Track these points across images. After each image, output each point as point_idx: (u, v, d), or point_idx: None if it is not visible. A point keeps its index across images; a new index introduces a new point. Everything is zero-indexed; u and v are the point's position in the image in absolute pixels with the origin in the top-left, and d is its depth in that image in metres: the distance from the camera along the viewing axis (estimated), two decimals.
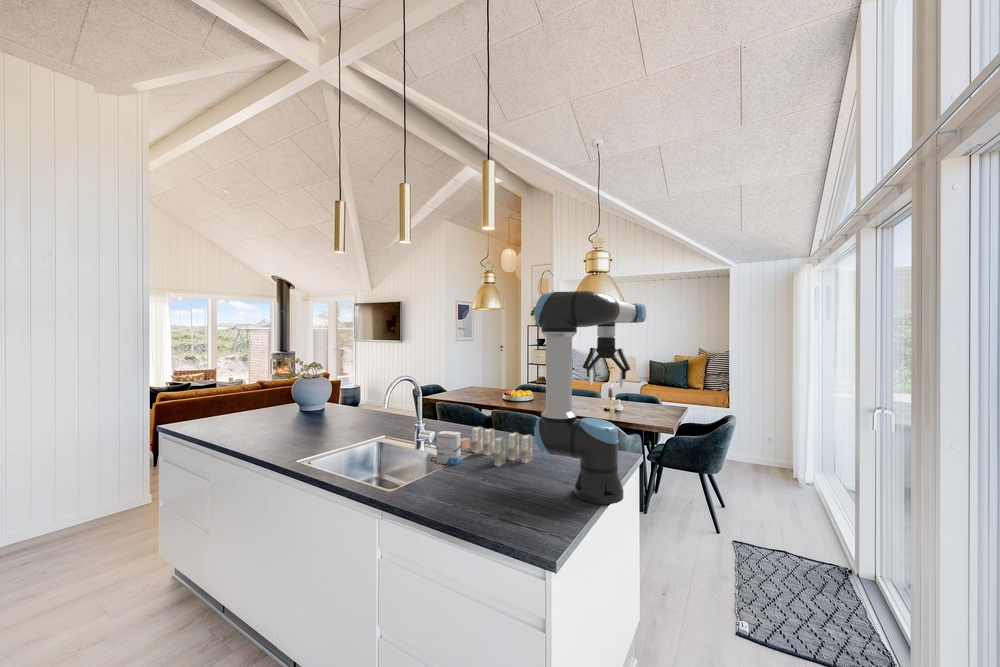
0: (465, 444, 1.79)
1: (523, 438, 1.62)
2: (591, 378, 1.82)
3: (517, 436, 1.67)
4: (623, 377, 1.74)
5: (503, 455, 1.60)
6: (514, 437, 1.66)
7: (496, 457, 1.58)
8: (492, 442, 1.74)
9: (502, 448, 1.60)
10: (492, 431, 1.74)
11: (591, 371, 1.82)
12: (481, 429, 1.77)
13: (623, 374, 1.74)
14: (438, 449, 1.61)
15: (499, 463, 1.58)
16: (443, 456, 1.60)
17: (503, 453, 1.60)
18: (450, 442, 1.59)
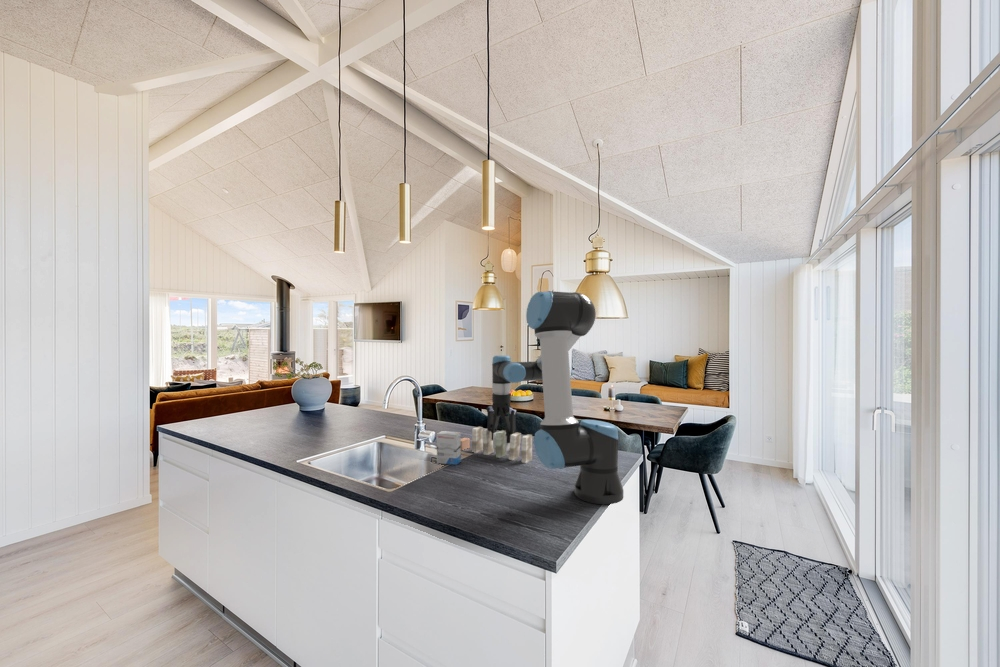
0: (465, 444, 1.79)
1: (523, 438, 1.62)
2: None
3: (519, 437, 1.67)
4: (508, 441, 1.68)
5: None
6: (516, 437, 1.65)
7: (497, 449, 1.68)
8: (491, 441, 1.74)
9: (503, 441, 1.70)
10: None
11: None
12: (481, 429, 1.77)
13: (508, 437, 1.68)
14: (438, 449, 1.61)
15: (500, 455, 1.68)
16: (443, 456, 1.60)
17: None
18: (450, 442, 1.59)
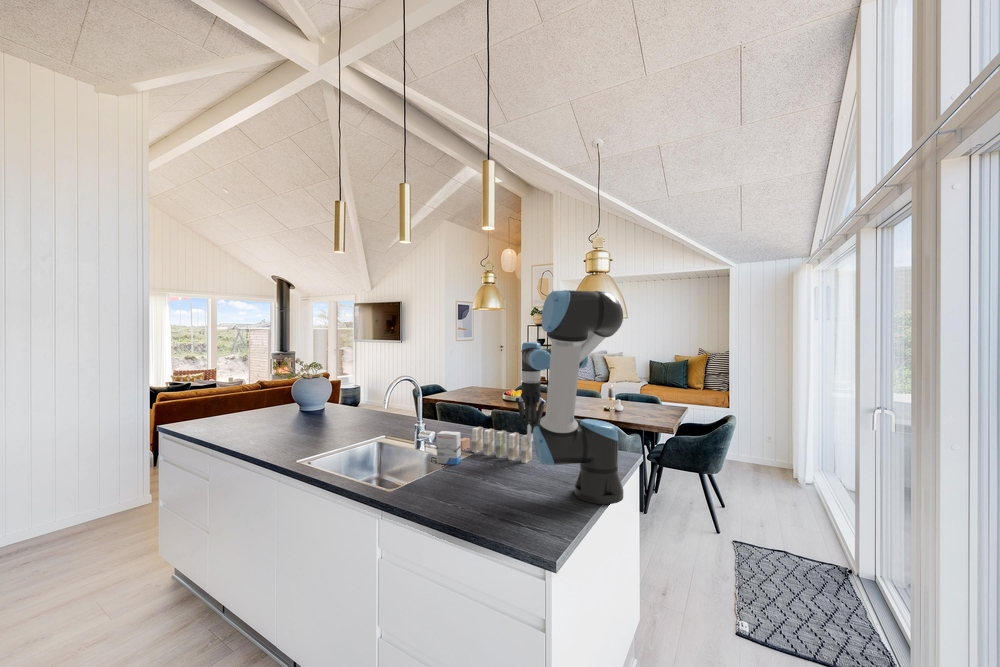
0: (465, 444, 1.79)
1: (522, 438, 1.62)
2: None
3: (517, 436, 1.67)
4: (532, 431, 1.62)
5: (504, 447, 1.71)
6: (514, 437, 1.66)
7: (497, 449, 1.68)
8: (492, 442, 1.74)
9: (503, 441, 1.70)
10: (492, 431, 1.74)
11: None
12: (481, 429, 1.77)
13: (532, 428, 1.62)
14: (438, 449, 1.61)
15: (500, 455, 1.68)
16: (443, 456, 1.60)
17: (504, 445, 1.71)
18: (450, 442, 1.59)
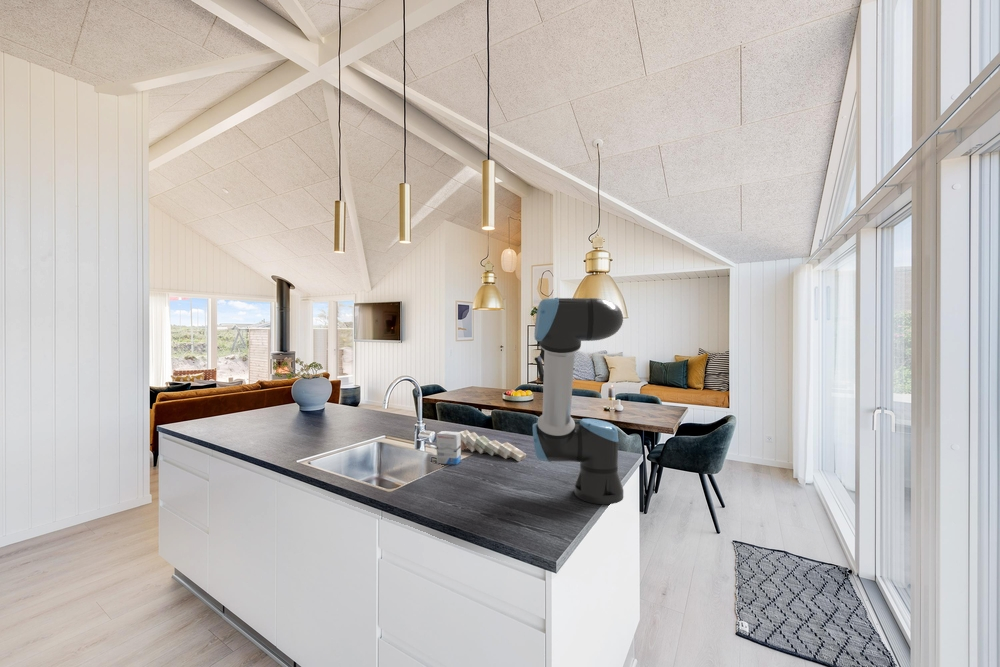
0: (465, 444, 1.79)
1: (500, 447, 1.68)
2: None
3: (495, 441, 1.73)
4: None
5: None
6: (492, 443, 1.71)
7: (487, 449, 1.71)
8: None
9: (487, 441, 1.75)
10: (473, 433, 1.79)
11: None
12: (466, 431, 1.82)
13: None
14: (438, 449, 1.61)
15: None
16: (443, 456, 1.60)
17: None
18: (450, 442, 1.59)
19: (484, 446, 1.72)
